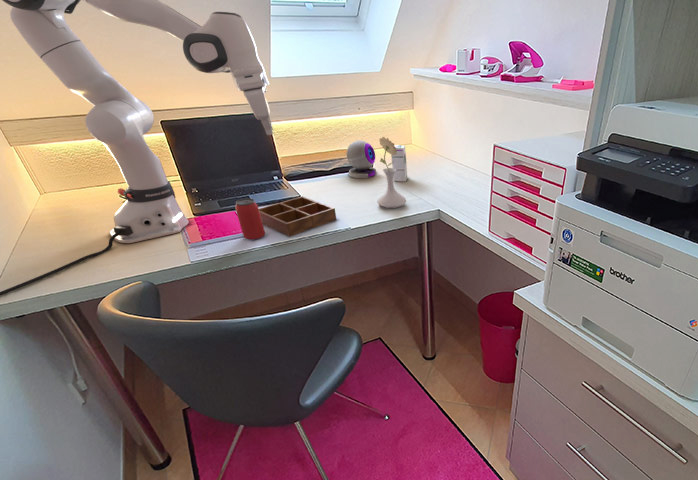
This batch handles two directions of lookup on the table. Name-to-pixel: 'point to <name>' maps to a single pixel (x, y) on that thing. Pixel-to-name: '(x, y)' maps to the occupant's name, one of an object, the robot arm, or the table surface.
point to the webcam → (361, 159)
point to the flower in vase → (390, 180)
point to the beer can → (249, 219)
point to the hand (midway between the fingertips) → (270, 132)
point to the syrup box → (399, 164)
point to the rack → (296, 215)
